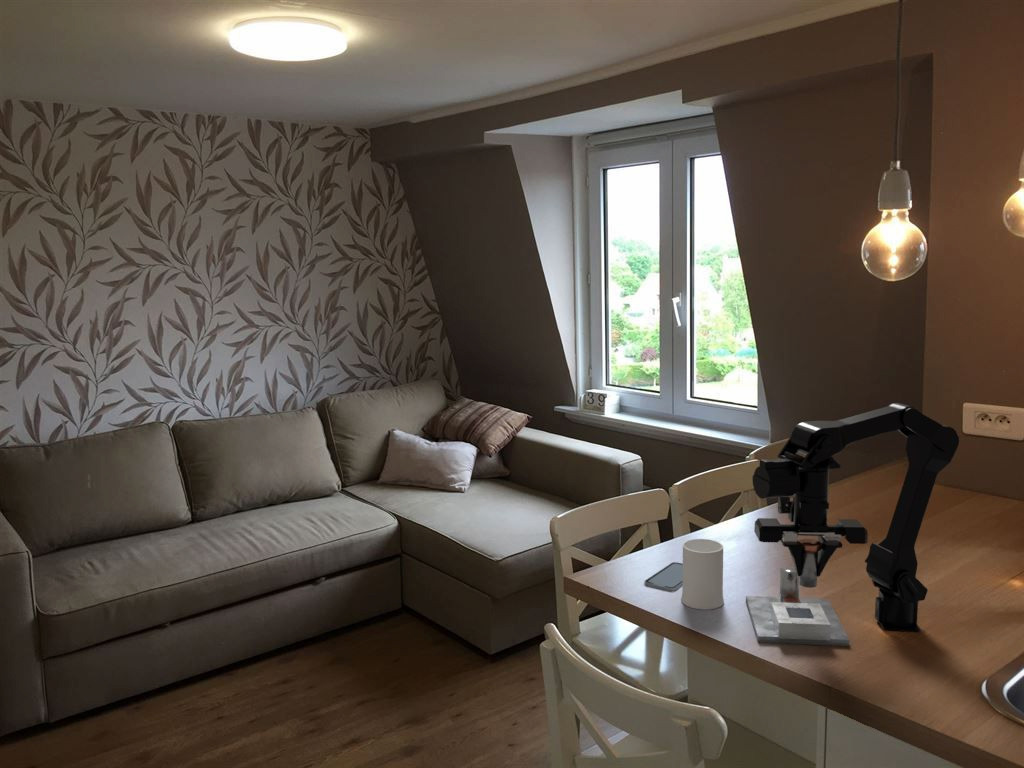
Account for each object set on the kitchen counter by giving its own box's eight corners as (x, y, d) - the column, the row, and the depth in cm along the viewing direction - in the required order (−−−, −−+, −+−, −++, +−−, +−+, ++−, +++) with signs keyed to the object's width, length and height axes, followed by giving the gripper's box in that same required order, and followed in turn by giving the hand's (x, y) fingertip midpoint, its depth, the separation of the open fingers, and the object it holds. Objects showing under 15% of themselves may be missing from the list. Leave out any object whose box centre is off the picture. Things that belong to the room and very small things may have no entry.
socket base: (827, 604, 170) (828, 565, 169) (850, 647, 152) (851, 604, 151) (745, 601, 173) (746, 563, 171) (758, 643, 155) (759, 601, 153)
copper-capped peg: (816, 580, 156) (818, 538, 155) (822, 588, 152) (823, 546, 151) (794, 579, 157) (795, 538, 155) (799, 588, 153) (800, 546, 151)
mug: (696, 584, 182) (696, 531, 180) (734, 592, 177) (735, 537, 175) (674, 604, 172) (674, 548, 170) (715, 613, 168) (715, 555, 166)
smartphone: (703, 568, 190) (673, 589, 178) (703, 572, 190) (673, 593, 178) (673, 561, 194) (642, 581, 183) (673, 565, 195) (642, 586, 183)
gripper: (852, 481, 159) (848, 560, 161) (750, 480, 161) (748, 558, 163) (870, 498, 148) (866, 583, 150) (761, 497, 150) (758, 581, 152)
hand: (808, 575), depth 154 cm, fingers closed on copper-capped peg, 3 cm apart
